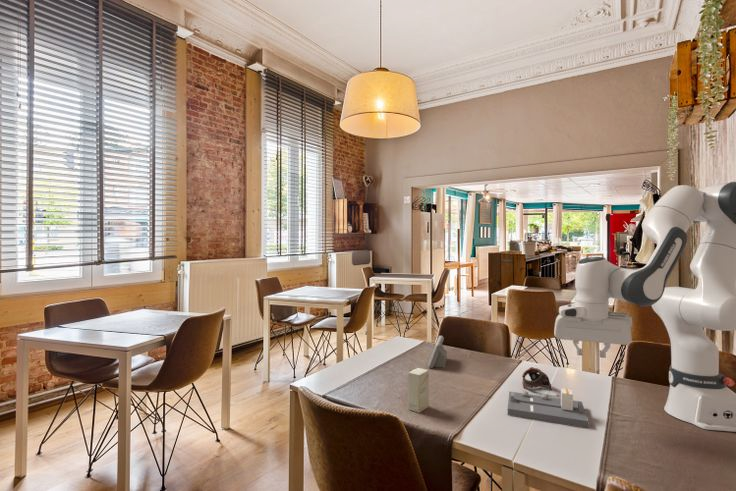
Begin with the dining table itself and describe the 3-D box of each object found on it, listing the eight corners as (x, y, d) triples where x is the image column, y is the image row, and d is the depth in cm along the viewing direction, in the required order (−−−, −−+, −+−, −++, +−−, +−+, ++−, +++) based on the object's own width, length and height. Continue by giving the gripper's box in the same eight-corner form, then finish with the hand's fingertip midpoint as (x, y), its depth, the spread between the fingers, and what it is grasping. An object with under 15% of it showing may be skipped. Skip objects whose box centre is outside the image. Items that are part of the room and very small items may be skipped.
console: (581, 407, 124) (581, 395, 123) (588, 428, 111) (588, 414, 111) (509, 397, 132) (509, 385, 132) (507, 414, 119) (507, 402, 119)
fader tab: (571, 405, 120) (571, 388, 120) (572, 410, 117) (572, 393, 116) (560, 403, 121) (560, 387, 121) (561, 409, 118) (561, 392, 118)
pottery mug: (558, 395, 135) (549, 377, 133) (532, 405, 136) (523, 387, 135) (544, 374, 146) (536, 357, 144) (521, 383, 148) (513, 367, 146)
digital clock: (433, 356, 177) (433, 333, 176) (452, 359, 172) (452, 336, 172) (420, 367, 162) (420, 342, 162) (441, 371, 158) (441, 345, 158)
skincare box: (419, 413, 120) (419, 375, 120) (407, 409, 123) (407, 372, 123) (429, 406, 125) (429, 369, 125) (417, 402, 128) (417, 366, 128)
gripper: (629, 311, 115) (629, 356, 115) (553, 306, 122) (553, 349, 123) (635, 315, 109) (634, 363, 109) (555, 310, 117) (554, 355, 117)
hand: (591, 356), depth 116 cm, fingers open, 5 cm apart
